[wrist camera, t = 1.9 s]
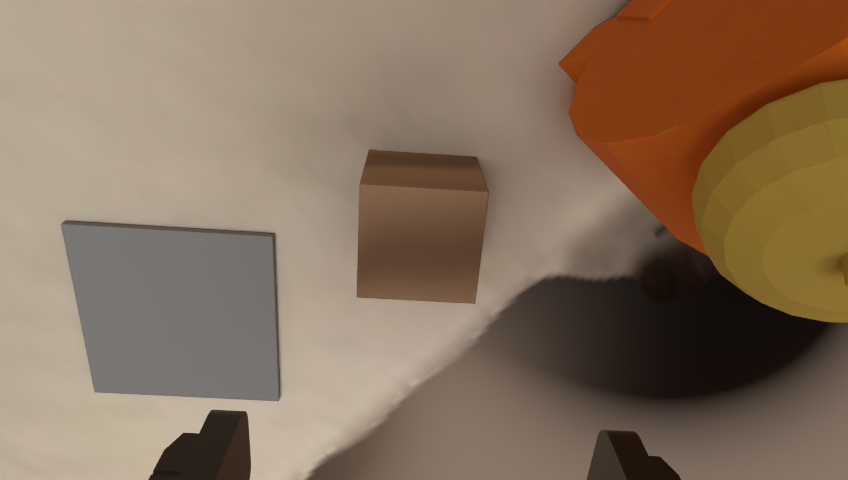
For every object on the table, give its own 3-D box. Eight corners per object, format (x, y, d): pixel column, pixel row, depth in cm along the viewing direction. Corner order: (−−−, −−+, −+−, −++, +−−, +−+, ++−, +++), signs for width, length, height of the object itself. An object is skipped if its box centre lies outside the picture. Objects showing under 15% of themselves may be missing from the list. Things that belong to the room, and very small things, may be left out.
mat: (65, 220, 28) (60, 224, 27) (274, 233, 28) (272, 236, 28) (98, 387, 32) (94, 392, 31) (280, 396, 32) (278, 401, 32)
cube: (369, 149, 27) (359, 184, 22) (476, 156, 27) (488, 192, 22) (366, 247, 29) (356, 297, 24) (465, 252, 29) (475, 303, 24)
